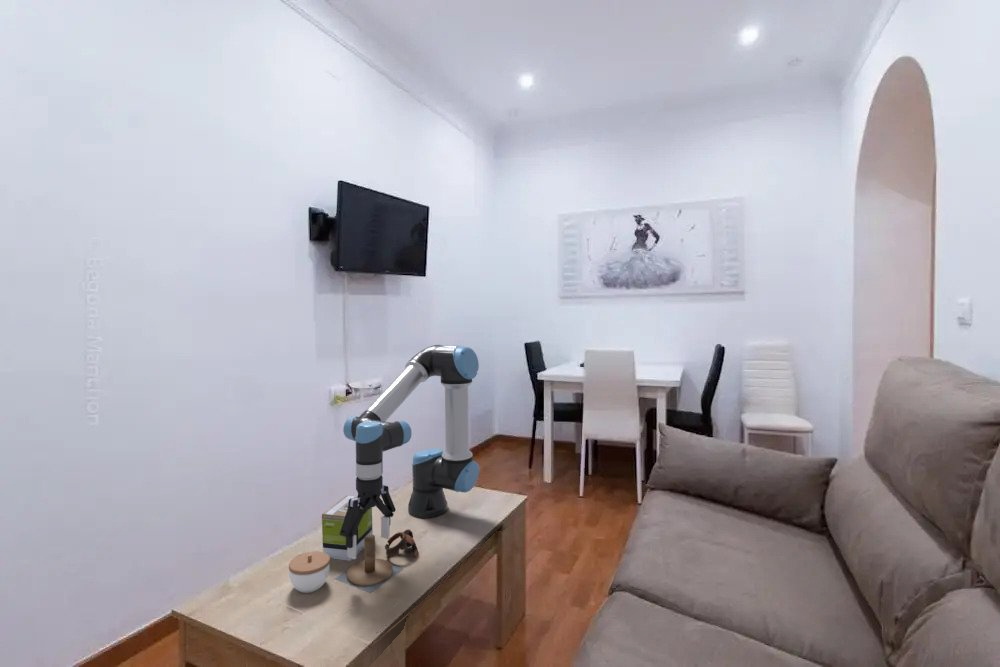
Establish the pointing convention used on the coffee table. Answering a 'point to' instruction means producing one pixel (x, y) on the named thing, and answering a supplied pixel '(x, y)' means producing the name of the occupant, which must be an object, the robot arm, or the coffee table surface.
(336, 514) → the tea box
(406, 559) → the coffee table surface
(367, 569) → the tan wooden handled piece
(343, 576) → the mat
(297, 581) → the lidded jar
